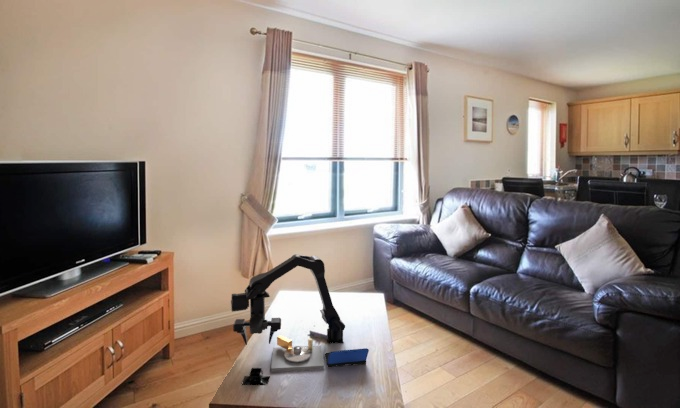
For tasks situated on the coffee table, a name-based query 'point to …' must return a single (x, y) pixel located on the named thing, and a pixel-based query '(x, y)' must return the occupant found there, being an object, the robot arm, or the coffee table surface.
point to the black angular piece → (256, 378)
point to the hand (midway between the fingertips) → (258, 344)
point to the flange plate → (293, 350)
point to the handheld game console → (346, 357)
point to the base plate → (311, 364)
